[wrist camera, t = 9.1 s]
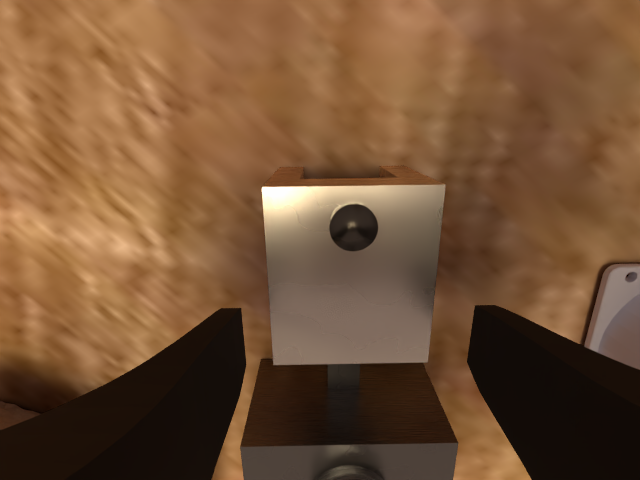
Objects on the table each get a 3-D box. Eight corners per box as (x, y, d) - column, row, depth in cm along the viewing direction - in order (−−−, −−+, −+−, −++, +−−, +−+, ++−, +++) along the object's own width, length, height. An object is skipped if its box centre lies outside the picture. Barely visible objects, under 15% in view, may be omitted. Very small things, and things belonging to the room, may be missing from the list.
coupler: (436, 177, 15) (512, 209, 9) (412, 433, 19) (453, 564, 13) (246, 179, 15) (202, 214, 9) (266, 436, 19) (245, 569, 13)
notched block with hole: (403, 165, 15) (448, 185, 10) (395, 294, 16) (429, 366, 11) (279, 167, 15) (261, 188, 10) (286, 295, 16) (272, 368, 11)
